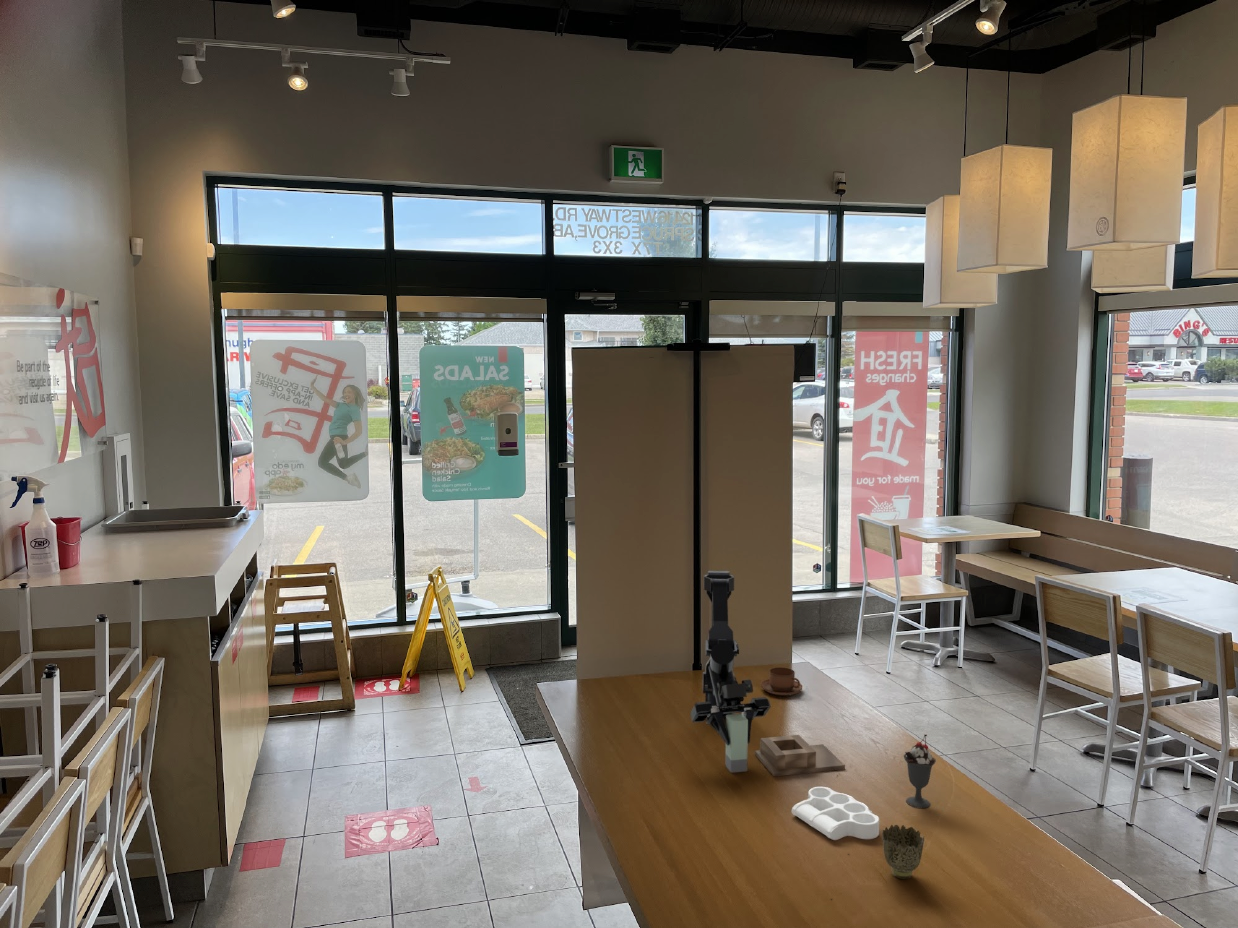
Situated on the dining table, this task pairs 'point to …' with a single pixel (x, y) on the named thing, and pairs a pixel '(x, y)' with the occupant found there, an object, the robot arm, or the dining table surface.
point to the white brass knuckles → (837, 814)
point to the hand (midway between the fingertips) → (738, 743)
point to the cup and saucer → (782, 682)
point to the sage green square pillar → (736, 743)
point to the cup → (902, 850)
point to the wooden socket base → (795, 756)
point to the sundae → (919, 772)
